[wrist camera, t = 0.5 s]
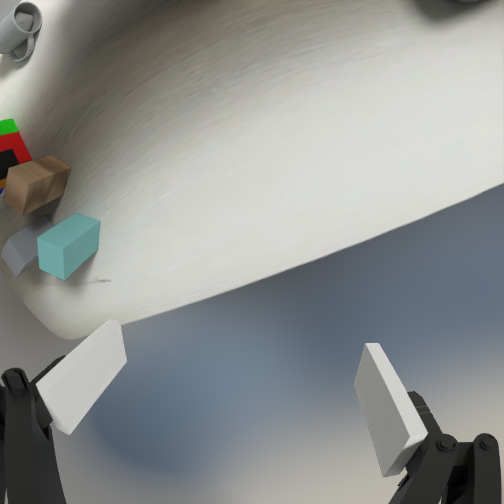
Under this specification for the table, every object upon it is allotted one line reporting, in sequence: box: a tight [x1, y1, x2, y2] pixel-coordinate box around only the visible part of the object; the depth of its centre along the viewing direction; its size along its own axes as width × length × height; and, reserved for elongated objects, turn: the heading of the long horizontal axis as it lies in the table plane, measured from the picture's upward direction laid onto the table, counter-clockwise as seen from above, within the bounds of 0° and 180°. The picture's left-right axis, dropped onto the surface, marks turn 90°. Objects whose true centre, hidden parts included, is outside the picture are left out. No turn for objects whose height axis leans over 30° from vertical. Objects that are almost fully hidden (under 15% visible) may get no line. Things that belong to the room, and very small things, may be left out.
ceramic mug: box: [0, 2, 42, 62], centre depth 20 cm, size 11×8×8 cm
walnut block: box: [3, 155, 71, 216], centre depth 31 cm, size 5×5×10 cm
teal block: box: [37, 213, 100, 281], centre depth 35 cm, size 5×5×10 cm
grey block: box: [0, 215, 54, 278], centre depth 35 cm, size 5×5×10 cm
